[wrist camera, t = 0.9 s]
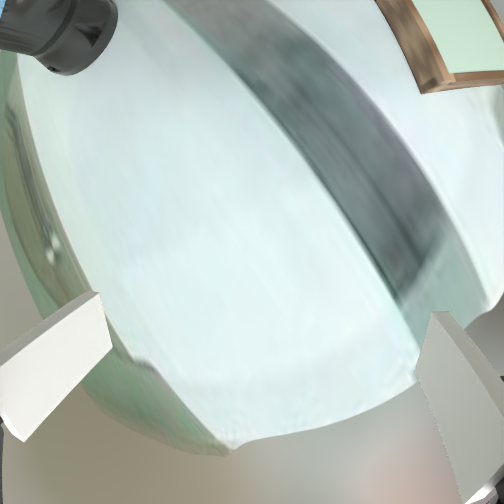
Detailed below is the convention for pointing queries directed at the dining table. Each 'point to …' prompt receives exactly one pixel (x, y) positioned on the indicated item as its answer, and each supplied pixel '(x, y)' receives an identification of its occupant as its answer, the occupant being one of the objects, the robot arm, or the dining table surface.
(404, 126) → the dining table surface
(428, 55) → the box
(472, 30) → the mint green panel
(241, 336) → the dining table surface
